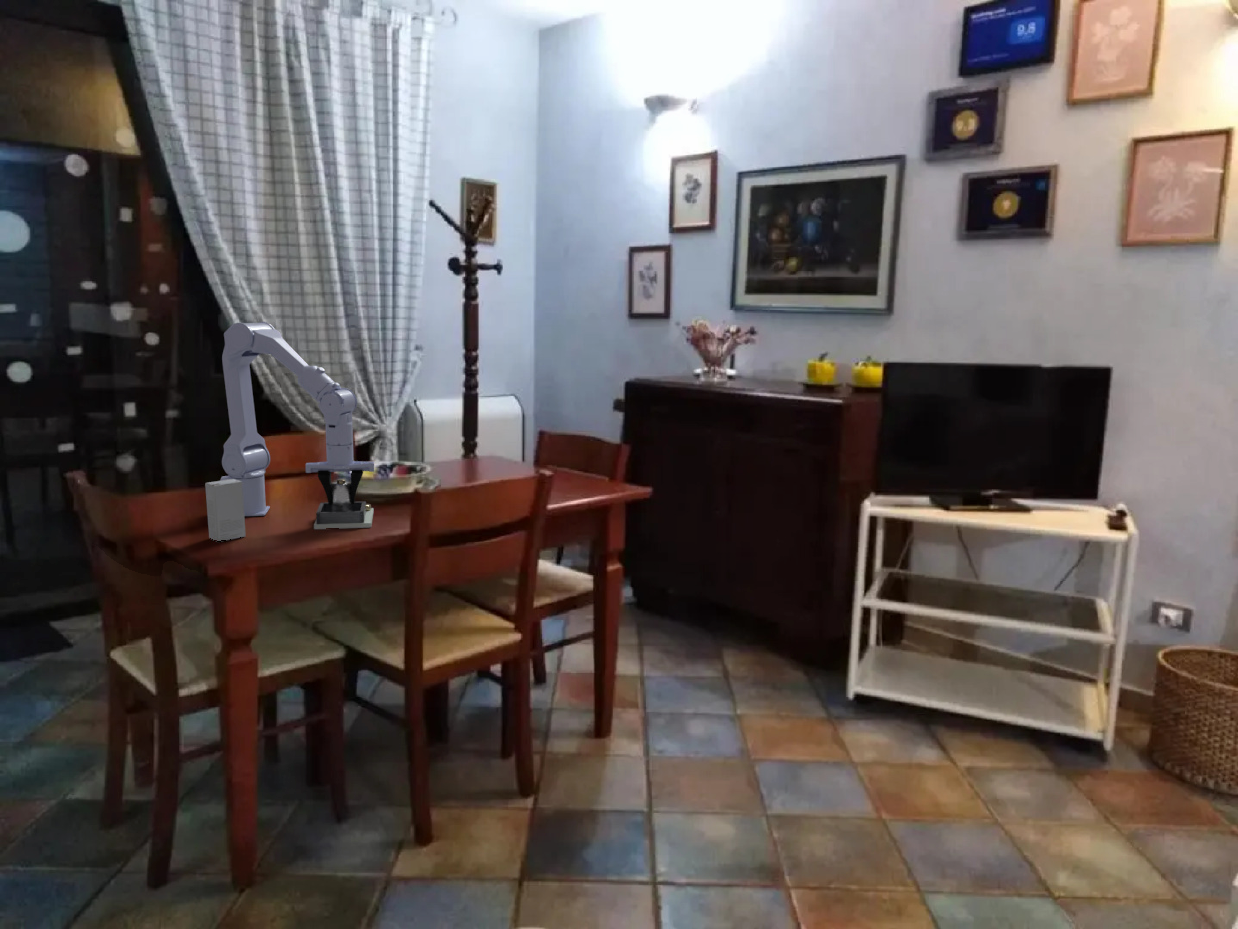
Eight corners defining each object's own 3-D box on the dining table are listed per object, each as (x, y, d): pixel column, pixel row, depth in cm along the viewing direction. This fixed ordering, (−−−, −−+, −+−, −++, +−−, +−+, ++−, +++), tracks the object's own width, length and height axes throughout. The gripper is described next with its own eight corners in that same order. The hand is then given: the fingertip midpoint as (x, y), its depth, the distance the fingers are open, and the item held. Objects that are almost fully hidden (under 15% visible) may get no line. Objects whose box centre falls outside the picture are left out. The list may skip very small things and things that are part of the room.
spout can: (331, 516, 192) (329, 482, 191) (333, 509, 198) (332, 476, 196) (351, 515, 193) (350, 481, 192) (353, 509, 199) (352, 476, 197)
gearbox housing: (314, 529, 189) (313, 513, 188) (320, 513, 202) (319, 499, 201) (371, 527, 191) (370, 512, 191) (373, 512, 205) (373, 497, 204)
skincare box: (236, 533, 184) (233, 477, 181) (246, 537, 181) (243, 481, 179) (207, 539, 179) (203, 481, 177) (217, 543, 176) (214, 485, 174)
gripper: (303, 447, 186) (305, 508, 189) (372, 446, 190) (374, 506, 192) (306, 441, 193) (309, 500, 195) (374, 441, 196) (375, 499, 199)
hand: (341, 503), depth 194 cm, fingers closed on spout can, 4 cm apart
